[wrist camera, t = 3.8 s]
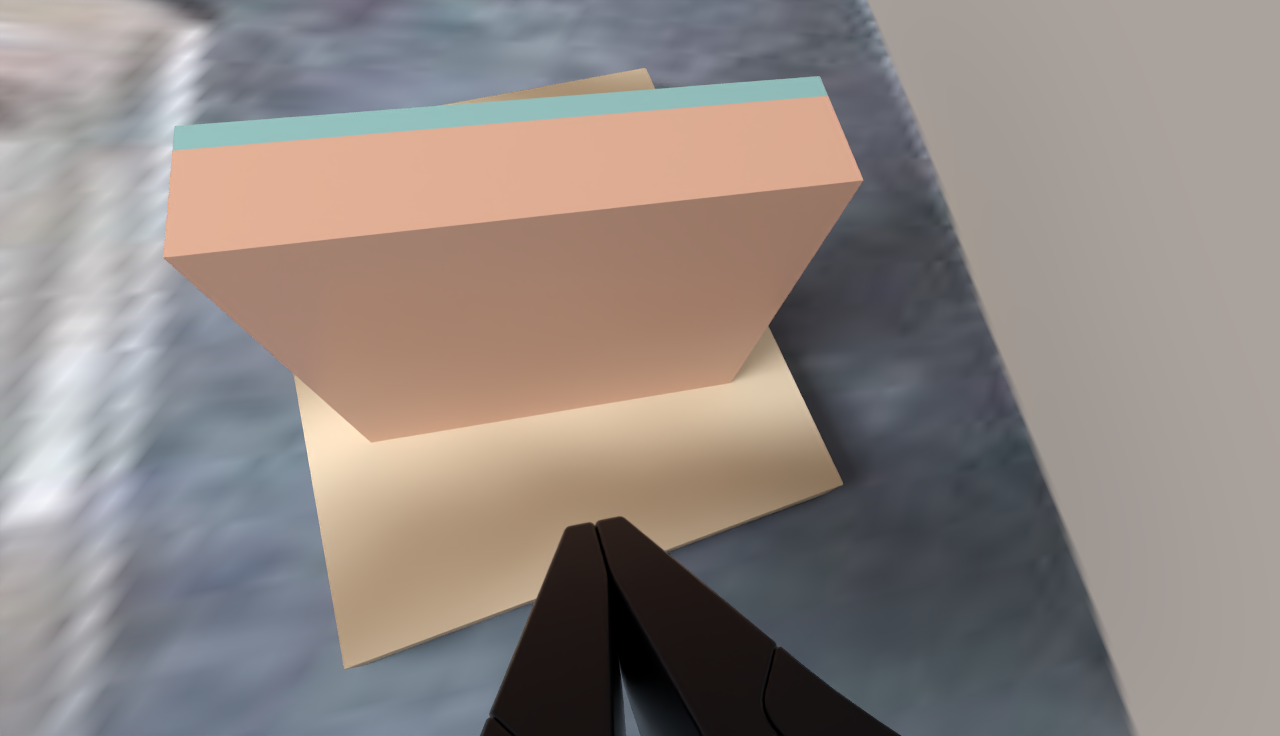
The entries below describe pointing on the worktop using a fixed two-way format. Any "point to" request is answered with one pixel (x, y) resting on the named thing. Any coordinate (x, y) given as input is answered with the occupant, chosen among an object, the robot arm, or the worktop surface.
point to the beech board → (544, 484)
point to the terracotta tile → (511, 244)
